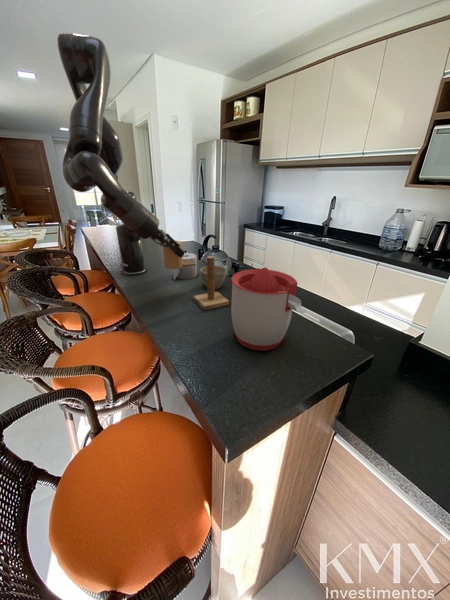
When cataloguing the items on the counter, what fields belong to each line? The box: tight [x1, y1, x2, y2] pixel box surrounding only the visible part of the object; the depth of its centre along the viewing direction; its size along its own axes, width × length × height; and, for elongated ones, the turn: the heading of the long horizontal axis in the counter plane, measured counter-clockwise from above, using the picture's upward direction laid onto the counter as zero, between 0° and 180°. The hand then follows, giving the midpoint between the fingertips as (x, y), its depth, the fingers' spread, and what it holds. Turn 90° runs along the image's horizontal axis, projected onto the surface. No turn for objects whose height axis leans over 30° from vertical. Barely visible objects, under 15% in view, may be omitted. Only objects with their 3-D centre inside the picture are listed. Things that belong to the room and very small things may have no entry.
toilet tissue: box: [173, 252, 198, 281], centre depth 105 cm, size 9×13×9 cm
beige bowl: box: [200, 265, 228, 290], centre depth 96 cm, size 10×10×7 cm
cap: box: [162, 239, 196, 270], centre depth 83 cm, size 10×6×8 cm, turn 119°
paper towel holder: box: [193, 255, 230, 311], centre depth 82 cm, size 9×9×16 cm
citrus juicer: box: [230, 267, 302, 352], centre depth 62 cm, size 16×17×20 cm
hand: (177, 252), depth 83 cm, fingers closed on cap, 6 cm apart
